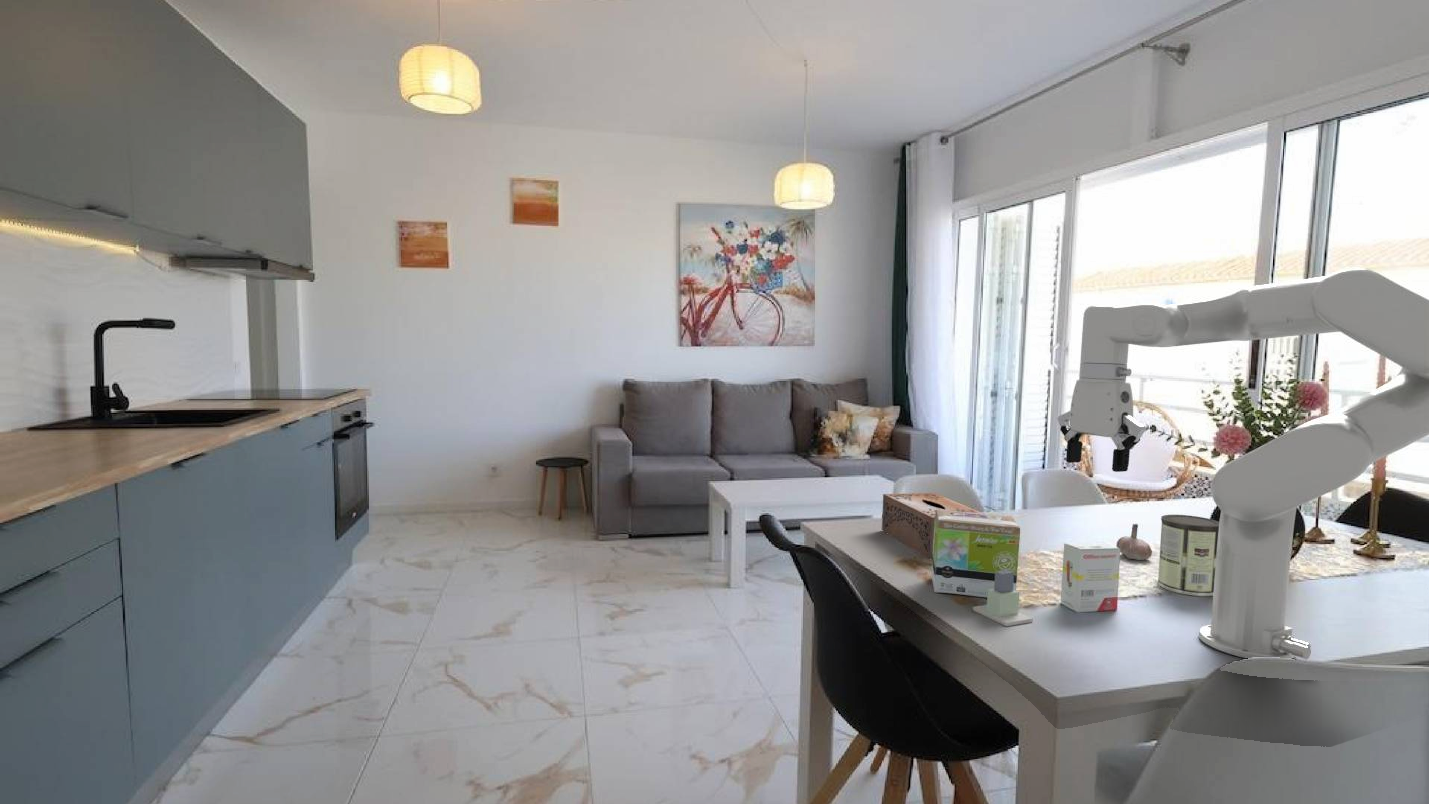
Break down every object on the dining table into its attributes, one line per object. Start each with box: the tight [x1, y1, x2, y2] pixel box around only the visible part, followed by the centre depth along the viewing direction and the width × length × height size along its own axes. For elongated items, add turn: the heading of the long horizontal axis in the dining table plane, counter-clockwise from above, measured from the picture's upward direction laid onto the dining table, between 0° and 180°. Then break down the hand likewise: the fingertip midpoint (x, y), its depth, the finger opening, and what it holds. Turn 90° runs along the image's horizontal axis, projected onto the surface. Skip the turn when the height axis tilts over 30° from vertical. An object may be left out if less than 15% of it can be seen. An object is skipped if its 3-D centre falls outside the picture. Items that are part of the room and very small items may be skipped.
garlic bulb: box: [1116, 523, 1153, 561], centre depth 166 cm, size 8×7×8 cm
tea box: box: [930, 510, 1021, 598], centre depth 141 cm, size 15×10×15 cm
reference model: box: [972, 570, 1034, 627], centre depth 127 cm, size 8×6×8 cm
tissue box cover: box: [881, 492, 986, 561], centre depth 174 cm, size 26×14×10 cm, turn 11°
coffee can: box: [1157, 514, 1220, 597], centre depth 145 cm, size 10×10×14 cm
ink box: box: [1060, 541, 1121, 613], centre depth 132 cm, size 9×5×12 cm, turn 99°
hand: (1095, 466), depth 131 cm, fingers open, 9 cm apart
